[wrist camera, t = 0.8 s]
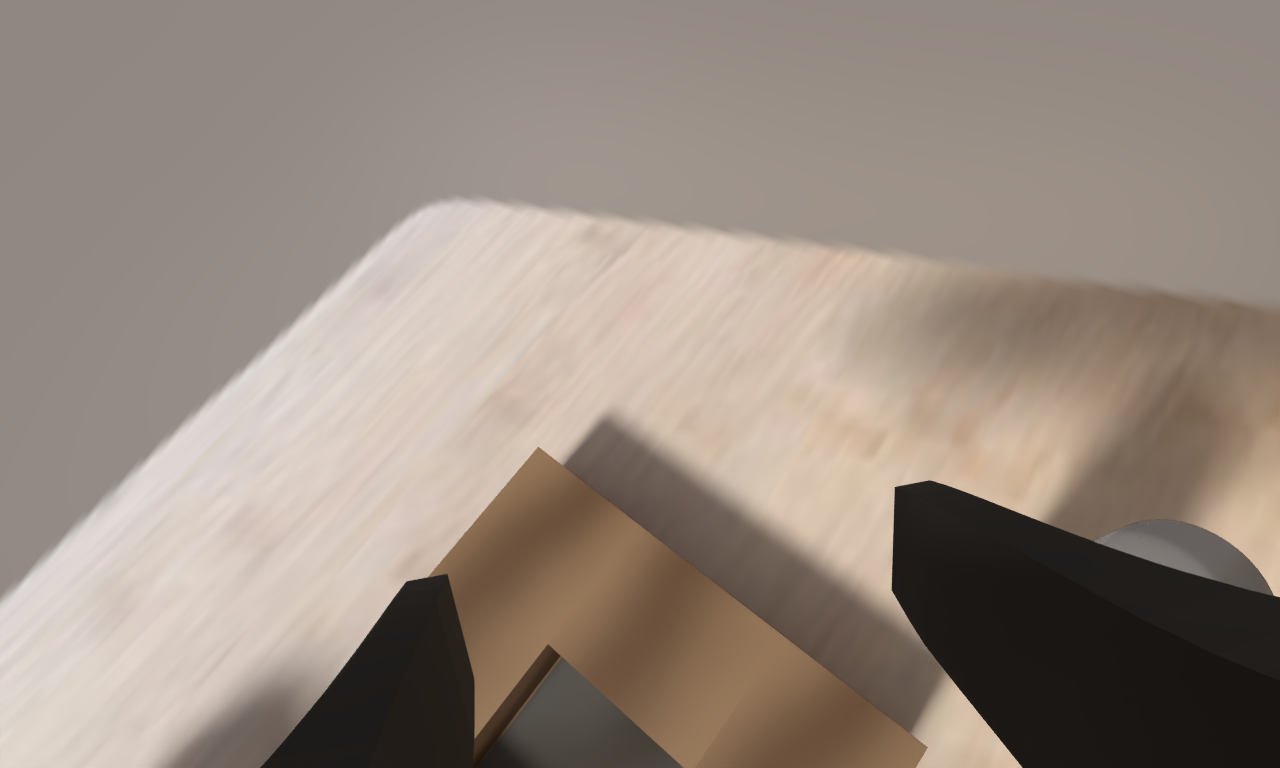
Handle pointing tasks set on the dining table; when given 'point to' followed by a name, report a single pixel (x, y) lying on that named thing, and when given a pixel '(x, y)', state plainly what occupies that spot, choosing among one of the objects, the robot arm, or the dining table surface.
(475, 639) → the socket block
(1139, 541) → the steel pin
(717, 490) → the dining table surface
